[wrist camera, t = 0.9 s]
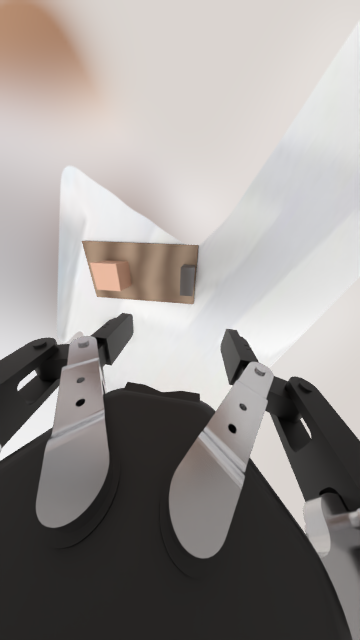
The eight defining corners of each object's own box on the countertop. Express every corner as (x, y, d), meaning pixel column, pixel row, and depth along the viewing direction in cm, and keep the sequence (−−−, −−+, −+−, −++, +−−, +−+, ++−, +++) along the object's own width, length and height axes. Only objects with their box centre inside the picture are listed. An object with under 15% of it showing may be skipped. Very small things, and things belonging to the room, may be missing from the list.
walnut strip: (198, 245, 26) (198, 244, 21) (193, 302, 32) (192, 313, 27) (84, 241, 29) (60, 239, 23) (99, 295, 34) (81, 304, 29)
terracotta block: (128, 261, 29) (115, 264, 24) (131, 285, 31) (120, 291, 27) (106, 260, 29) (89, 262, 25) (111, 283, 31) (96, 289, 27)
